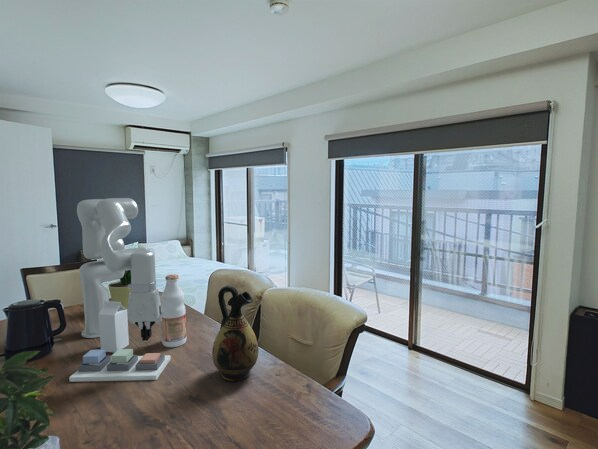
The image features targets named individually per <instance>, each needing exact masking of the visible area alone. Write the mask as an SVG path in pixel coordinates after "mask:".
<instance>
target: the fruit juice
mask: <svg viewBox="0 0 598 449" xmlns="http://www.w3.org/2000/svg"><path fill="white" fill-rule="evenodd" d="M164 279H165V282H166V283H165V288H164V289H163V291H162V293H161V295H160V301H161V308H162V315H161V318H162V321H161V322H160V323H161V324H160V325H161V343H162V346H163V347H166V348H177V347H178V348H179V347H181V346H183V345H184V344H186V342H187V339H188V336H187V316H186V315H187V314H186V312H187V311H186V305H185V304H184V303H185V297H186V296H185V293H184V291H183V290H182V288H181V287H180V284H179V281H178V280H179V274H168V275H166V276H165V278H164Z"/></svg>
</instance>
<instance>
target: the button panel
mask: <svg viewBox="0 0 598 449" xmlns="http://www.w3.org/2000/svg"><path fill="white" fill-rule="evenodd" d="M111 356H112V355H106V357H105V358H103V359H102V360H101V361H100V362H99V363H90V364H83V361H82V362H81V363H79V365H77V370H76V371H75V372H74V373H72V374H71V375H70V376H69V377H68V379H69V383H71V382H72V383H73V382H76V383H77V382H113V381H115V382H117V381H118V382H119V381H120V382H121V381H150V380H151V381H156V380H158V378H159V377H160V376H161V373H163V371H164V370H165V368H166V366H167V365H168V364H169V362H170V361H171V359H172V358H171V355H170V354H168V355H165V354H160V358H159V360H158V361H157V362H156V363H150V364H140V360H141V358H142V357H143V356H144V355H138V354H133V356H132V358H131V359H130V360H129V361H128V362H127V363H112V360H111Z"/></svg>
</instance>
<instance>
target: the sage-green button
mask: <svg viewBox="0 0 598 449" xmlns="http://www.w3.org/2000/svg"><path fill="white" fill-rule="evenodd" d="M133 355H134V349H133V348H123V349H118V350H117V351H116V352H115V353H112V355H110V356H111V360H112V363H127V362H128V361H129V360H130V359H131V358H132V356H133Z"/></svg>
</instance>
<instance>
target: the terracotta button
mask: <svg viewBox="0 0 598 449" xmlns="http://www.w3.org/2000/svg"><path fill="white" fill-rule="evenodd" d="M160 355H161V353H160V352H152V353H151V352H150V353H149V352H148V353H146V352H145V354H143V355H142V356H143V357H142V358H141V360H140V364H150V363H156V362H157V361H158V360H159V358H160Z"/></svg>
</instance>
